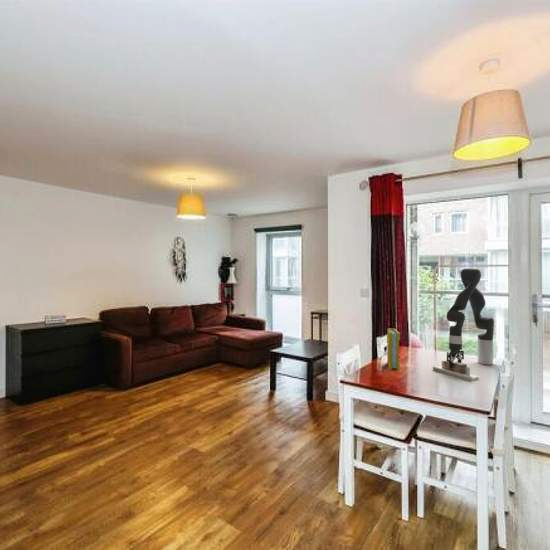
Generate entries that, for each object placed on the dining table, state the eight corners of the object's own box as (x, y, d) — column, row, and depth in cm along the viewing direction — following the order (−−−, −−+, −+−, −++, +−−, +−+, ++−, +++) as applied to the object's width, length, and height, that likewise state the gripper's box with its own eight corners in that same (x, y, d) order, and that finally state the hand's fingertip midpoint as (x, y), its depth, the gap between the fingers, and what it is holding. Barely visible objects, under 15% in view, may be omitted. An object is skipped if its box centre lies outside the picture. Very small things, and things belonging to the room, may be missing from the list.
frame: (444, 370, 228) (444, 360, 228) (449, 368, 230) (449, 359, 230) (461, 375, 217) (462, 365, 217) (466, 373, 220) (466, 364, 220)
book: (399, 369, 234) (399, 333, 233) (389, 369, 235) (389, 332, 235) (396, 362, 251) (396, 328, 250) (386, 362, 252) (386, 328, 251)
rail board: (440, 368, 237) (440, 358, 237) (478, 378, 214) (478, 368, 214) (432, 370, 233) (433, 360, 233) (470, 381, 210) (470, 370, 210)
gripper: (453, 344, 217) (453, 370, 217) (467, 341, 224) (467, 366, 224) (443, 342, 223) (442, 367, 224) (456, 339, 230) (456, 364, 231)
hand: (455, 367), depth 224 cm, fingers open, 8 cm apart
